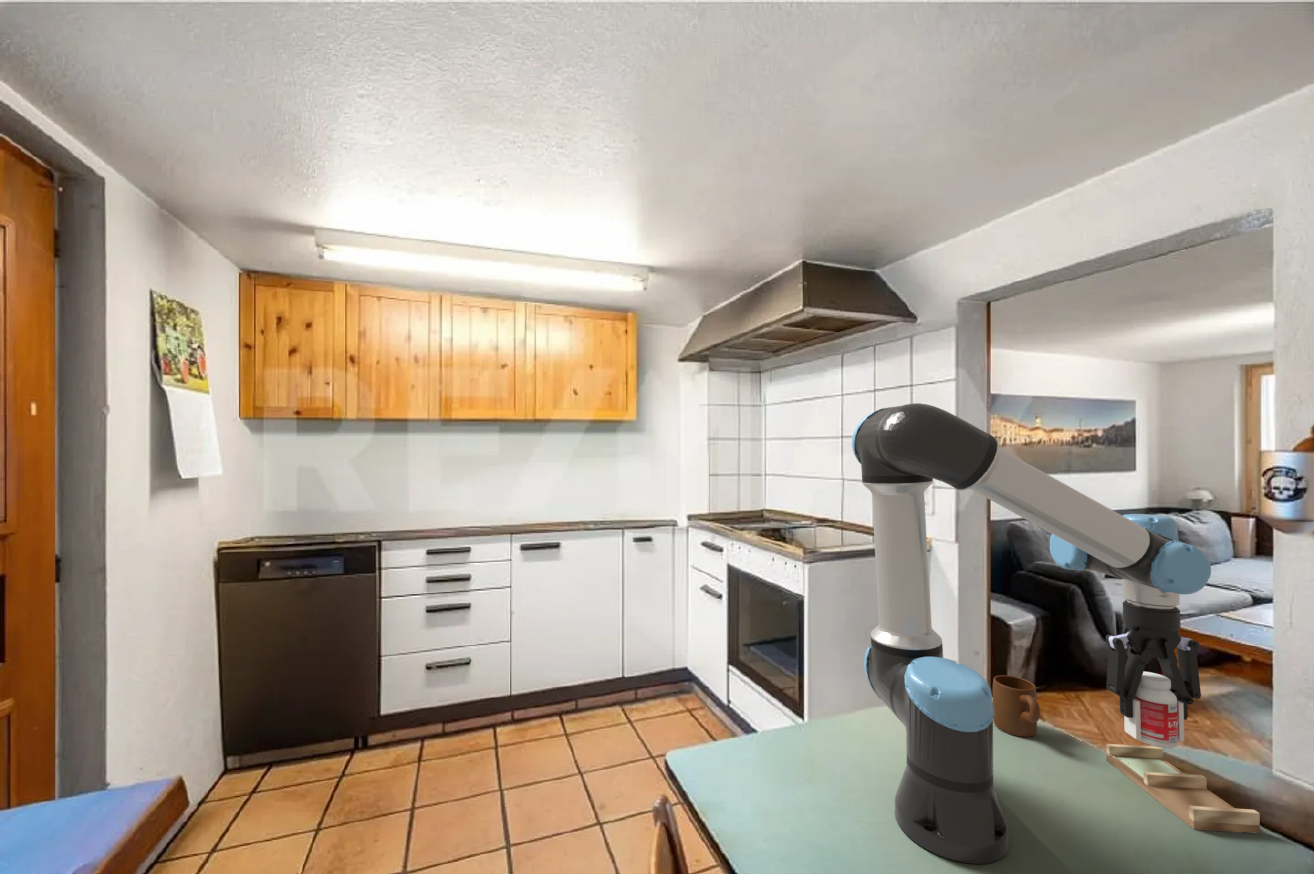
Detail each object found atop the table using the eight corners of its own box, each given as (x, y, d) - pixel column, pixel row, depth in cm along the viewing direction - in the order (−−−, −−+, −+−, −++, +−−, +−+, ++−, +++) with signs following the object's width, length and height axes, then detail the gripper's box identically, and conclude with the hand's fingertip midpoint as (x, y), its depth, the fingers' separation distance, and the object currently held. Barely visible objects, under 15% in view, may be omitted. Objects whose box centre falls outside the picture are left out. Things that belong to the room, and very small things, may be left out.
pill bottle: (1177, 754, 91) (1175, 687, 92) (1129, 740, 96) (1127, 676, 96) (1179, 740, 96) (1177, 676, 96) (1133, 727, 100) (1131, 666, 100)
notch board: (1193, 829, 83) (1193, 809, 83) (1106, 760, 101) (1106, 743, 101) (1259, 833, 82) (1259, 813, 82) (1159, 763, 100) (1159, 746, 100)
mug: (1059, 751, 104) (1058, 701, 104) (1016, 749, 105) (1016, 699, 105) (1024, 720, 116) (1023, 675, 116) (986, 718, 117) (985, 673, 117)
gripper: (1107, 608, 93) (1110, 745, 93) (1230, 610, 92) (1234, 750, 91) (1078, 596, 101) (1080, 723, 100) (1191, 598, 99) (1195, 727, 99)
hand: (1153, 735), depth 96 cm, fingers closed on pill bottle, 6 cm apart
